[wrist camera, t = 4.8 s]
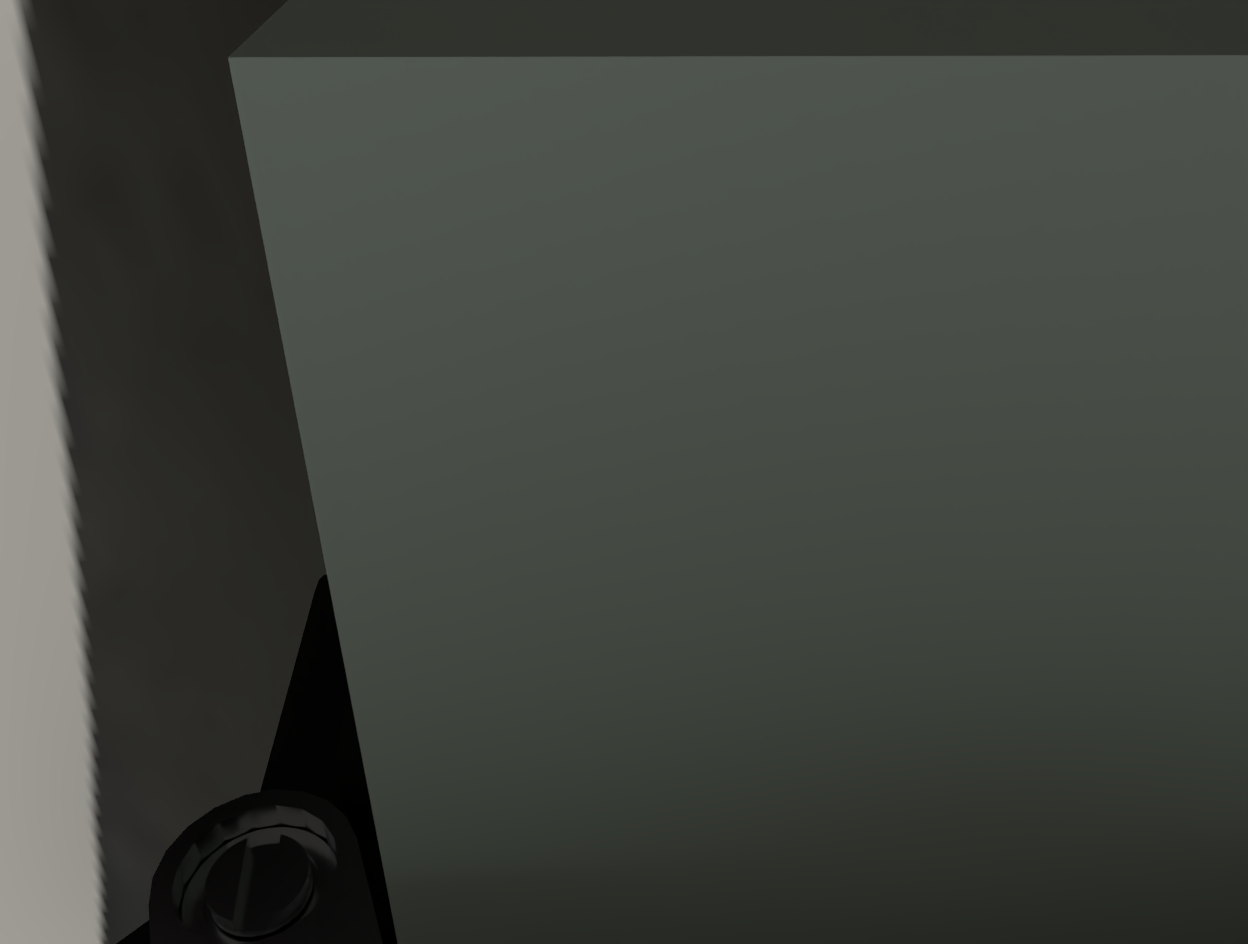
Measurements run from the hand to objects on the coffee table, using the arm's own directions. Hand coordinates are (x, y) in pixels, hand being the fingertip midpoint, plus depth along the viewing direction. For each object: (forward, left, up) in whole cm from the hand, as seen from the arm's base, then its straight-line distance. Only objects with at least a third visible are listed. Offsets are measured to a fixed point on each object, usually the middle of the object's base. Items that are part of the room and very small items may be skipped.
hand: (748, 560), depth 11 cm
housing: (0, 0, -1) cm, 1 cm away
